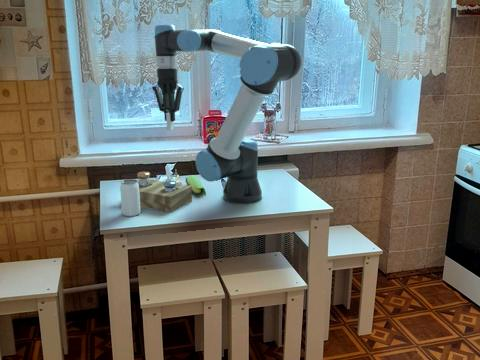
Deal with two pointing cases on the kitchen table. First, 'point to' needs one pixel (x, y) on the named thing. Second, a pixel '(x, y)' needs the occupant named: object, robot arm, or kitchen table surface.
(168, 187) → the salt shaker
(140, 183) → the copper lidded jar
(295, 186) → the kitchen table surface
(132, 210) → the can
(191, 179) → the edible corn
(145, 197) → the oak block
